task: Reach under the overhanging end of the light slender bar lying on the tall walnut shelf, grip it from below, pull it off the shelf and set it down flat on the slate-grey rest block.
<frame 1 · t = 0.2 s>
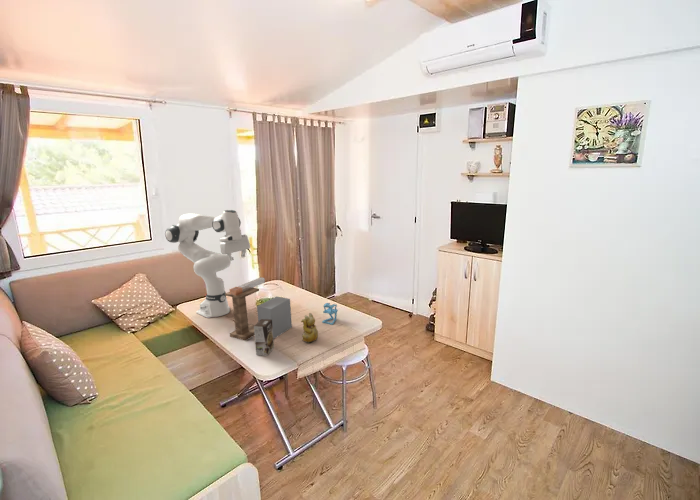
hand: (237, 258, 217), 40 cm above the table, tool pointing down, fingers open, 8 cm apart
rest block: (276, 331, 207), on the table
decorative figurine: (311, 340, 195), on the table
walnut shelf: (246, 333, 205), on the table
coffee box: (265, 351, 185), on the table
blue strut sculpture: (330, 321, 219), on the table
light slender bar: (248, 288, 204), point 26 cm above the table, touching walnut shelf
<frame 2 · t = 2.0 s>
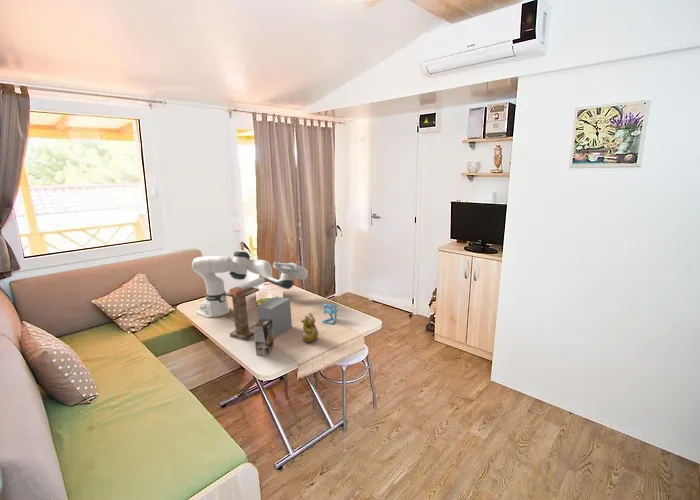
hand: (280, 264, 228), 33 cm above the table, tool pointing upward, fingers open, 8 cm apart
nothing on the table moved.
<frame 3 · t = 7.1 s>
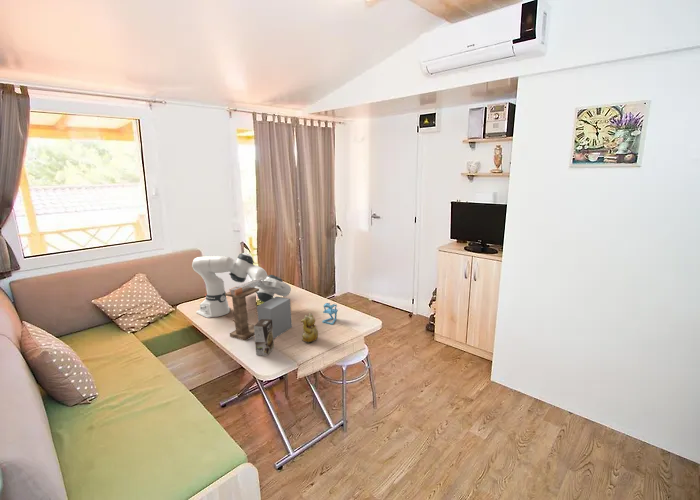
hand: (258, 280, 211), 28 cm above the table, tool pointing upward, fingers closed on light slender bar, 3 cm apart
light slender bar: (248, 288, 204), point 26 cm above the table, touching gripper, walnut shelf
everything else where it was.
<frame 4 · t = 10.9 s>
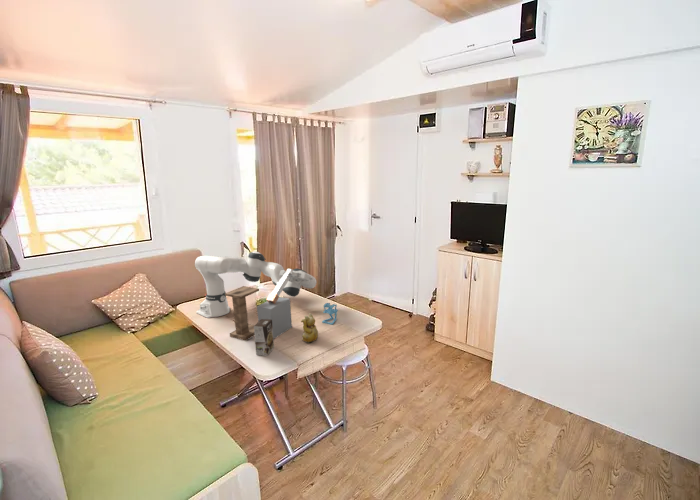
hand: (287, 272, 212), 32 cm above the table, tool pointing upward, fingers closed on light slender bar, 3 cm apart
light slender bar: (282, 287, 209), point 25 cm above the table, tilted 33°, touching gripper
everything else where it was.
when the fingers open (21 cm above the table, at t = 13.8 s): light slender bar stays where it is, resting on rest block.
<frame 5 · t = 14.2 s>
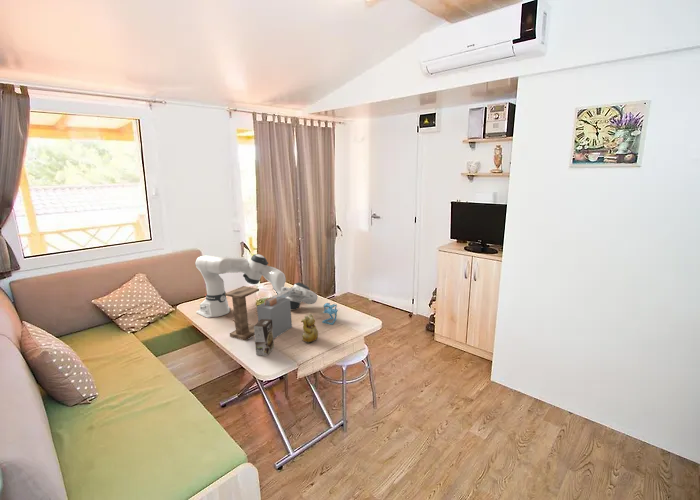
hand: (288, 289, 214), 21 cm above the table, tool pointing upward, fingers open, 7 cm apart
light slender bar: (281, 298, 209), point 18 cm above the table, touching rest block
everything else where it was.
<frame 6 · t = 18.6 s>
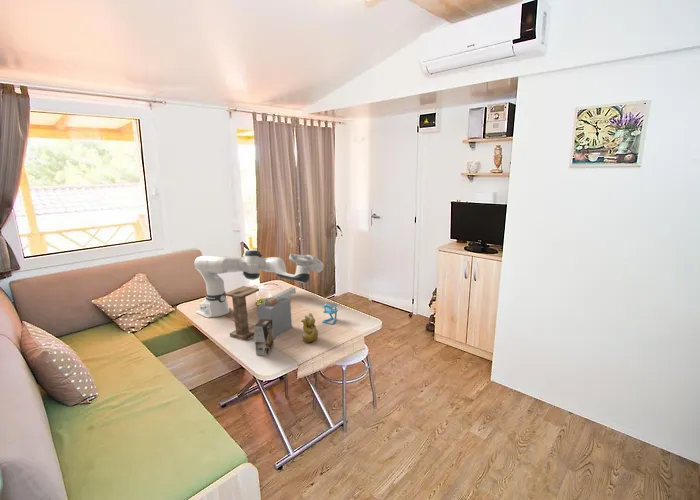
hand: (297, 255, 226), 38 cm above the table, tool pointing upward, fingers open, 8 cm apart
nothing on the table moved.
at the end: light slender bar inside the target area (1.2 cm from its centre), point 18.0 cm above the table; light slender bar tilted 0°; the gripper is holding nothing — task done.
